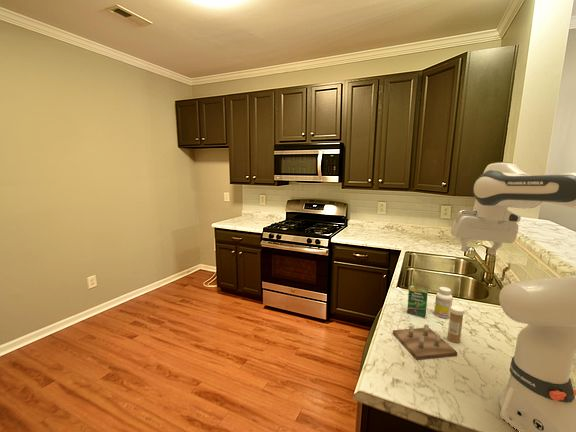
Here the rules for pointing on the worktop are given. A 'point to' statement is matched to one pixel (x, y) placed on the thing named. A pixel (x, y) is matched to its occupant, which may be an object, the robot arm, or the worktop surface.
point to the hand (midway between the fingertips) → (477, 252)
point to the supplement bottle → (443, 302)
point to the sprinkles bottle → (455, 323)
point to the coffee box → (417, 301)
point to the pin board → (424, 343)
